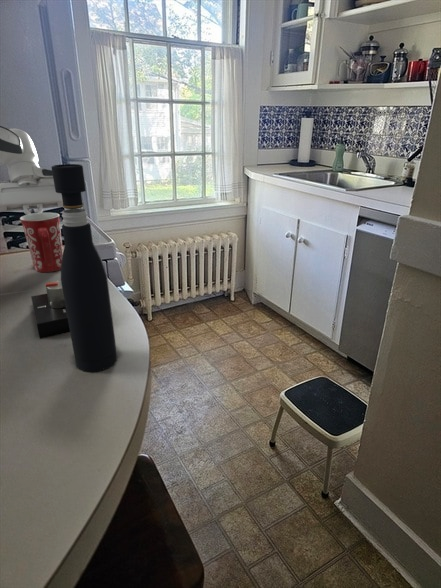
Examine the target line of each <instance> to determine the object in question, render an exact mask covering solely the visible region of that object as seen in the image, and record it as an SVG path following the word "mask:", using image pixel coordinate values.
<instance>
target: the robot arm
mask: <svg viewBox="0 0 441 588" xmlns="http://www.w3.org/2000/svg"><path fill="white" fill-rule="evenodd" d="M2 165H3V166H5V167H6V168H7V174H8V178H9V180H0V213H3V212H14V211H23V213H24V214H25V215H28V214H34V213H35V212H31V211H30V210H36V209H37V211H36V213H44V209H48V208H57V207H58V208H60V207H63V200H62V194H61V193H56V191H55V186H54V180H53V174H52V169H49V168H44V167H41V166H40V165H39V156H38V153H37V149H36V146H35V144H34V141H33V140H32V138H31V136H30V135H29V134H28V133H27V132H26V131H24V130H22V129H20V128H15V127H14V128H7V127H5V126H2V125H0V167H1V166H2Z"/></svg>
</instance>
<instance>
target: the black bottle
mask: <svg viewBox="0 0 441 588" xmlns="http://www.w3.org/2000/svg"><path fill="white" fill-rule="evenodd" d="M51 170H52V174H53V180H54V186H55V191H56V193H61V194H62V200H63V206H62V207H63V209H64V210H62V211H61V212H62V214H61V217H62V218H63V219H62V222H63V224H62V225H61V232H62V236H63V237H62V238H63V243H64V247H63V257H62V262H61V269H60V280H61V284H62V289H63V295H64V300H65V306H66V312H67V317H68V323H69V328H70V332H69V334H70V340H71V344H72V350H73V356H74V362H75V366H76V368H77V369H78V370H79V371H82V372H86V373H98V372H103V371H105V370H108V369H110V368H111V367H112V366H114V365H115V363H116V362H118V361H117V360H118V352H117V344H116V338H115V337H116V336H115V328H114V320H113V312H112V305H111V297H110V296H111V295H110V287H109V282H108V280H109V279H108V274H107V271H106V268H105V265H104V262H103V260H102V256H100V252H99V251H98V250H97V248H96V245H95V243H94V240H93V239H94V238H93V233H92V224H91V223H90V222H88V221H89V218H88V217H87V216H88V213H87V210H86V208H83V207H84V202H83V194H82V193H84V192H86V191H87V187H86V178H85V171H84V165H83V164H79V163H78V164H77V163H64V164H54V165H51Z"/></svg>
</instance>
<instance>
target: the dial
mask: <svg viewBox="0 0 441 588" xmlns="http://www.w3.org/2000/svg"><path fill="white" fill-rule="evenodd" d="M45 289H46V294H47V295H48V300H49V305H50V307H52V308H57V309H59V308H65V307H66V306H65V300H64V295H63V289H62V284H61V279H59V280H58V279H57V280H53V281H50V282H46V283H45Z"/></svg>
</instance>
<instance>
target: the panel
mask: <svg viewBox="0 0 441 588" xmlns="http://www.w3.org/2000/svg"><path fill="white" fill-rule="evenodd" d="M30 299H31V304H32V307H33V313H34V318H35V323H36V329H37V332H38V338H39V340H41V339H45V338H50V337H55V336H59V335H63V334H68V333H69V334H70V328H69V323H68V317H67V312H66V307H65V308H59V309H57V308H52V307H50V305H49V300H48V295H47V293H42V294H37V295H31V296H30Z"/></svg>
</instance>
